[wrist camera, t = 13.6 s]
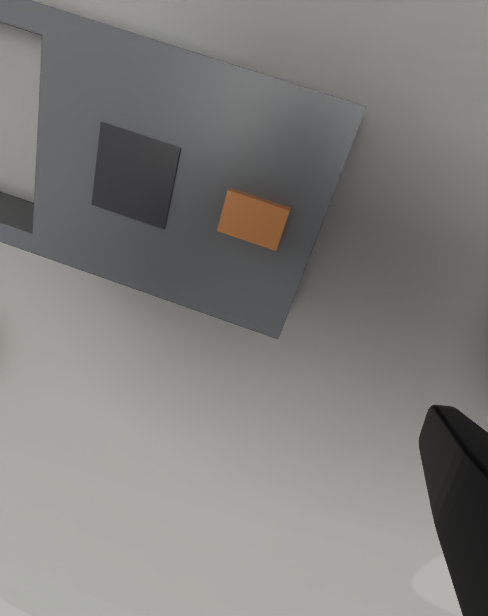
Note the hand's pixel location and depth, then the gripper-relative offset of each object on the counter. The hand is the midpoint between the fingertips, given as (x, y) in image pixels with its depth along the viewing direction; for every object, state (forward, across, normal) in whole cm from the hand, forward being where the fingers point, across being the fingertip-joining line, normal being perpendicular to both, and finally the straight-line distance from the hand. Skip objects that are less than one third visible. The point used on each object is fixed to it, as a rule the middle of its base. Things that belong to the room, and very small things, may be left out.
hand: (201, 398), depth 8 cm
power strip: (+13, +7, -3) cm, 15 cm away
